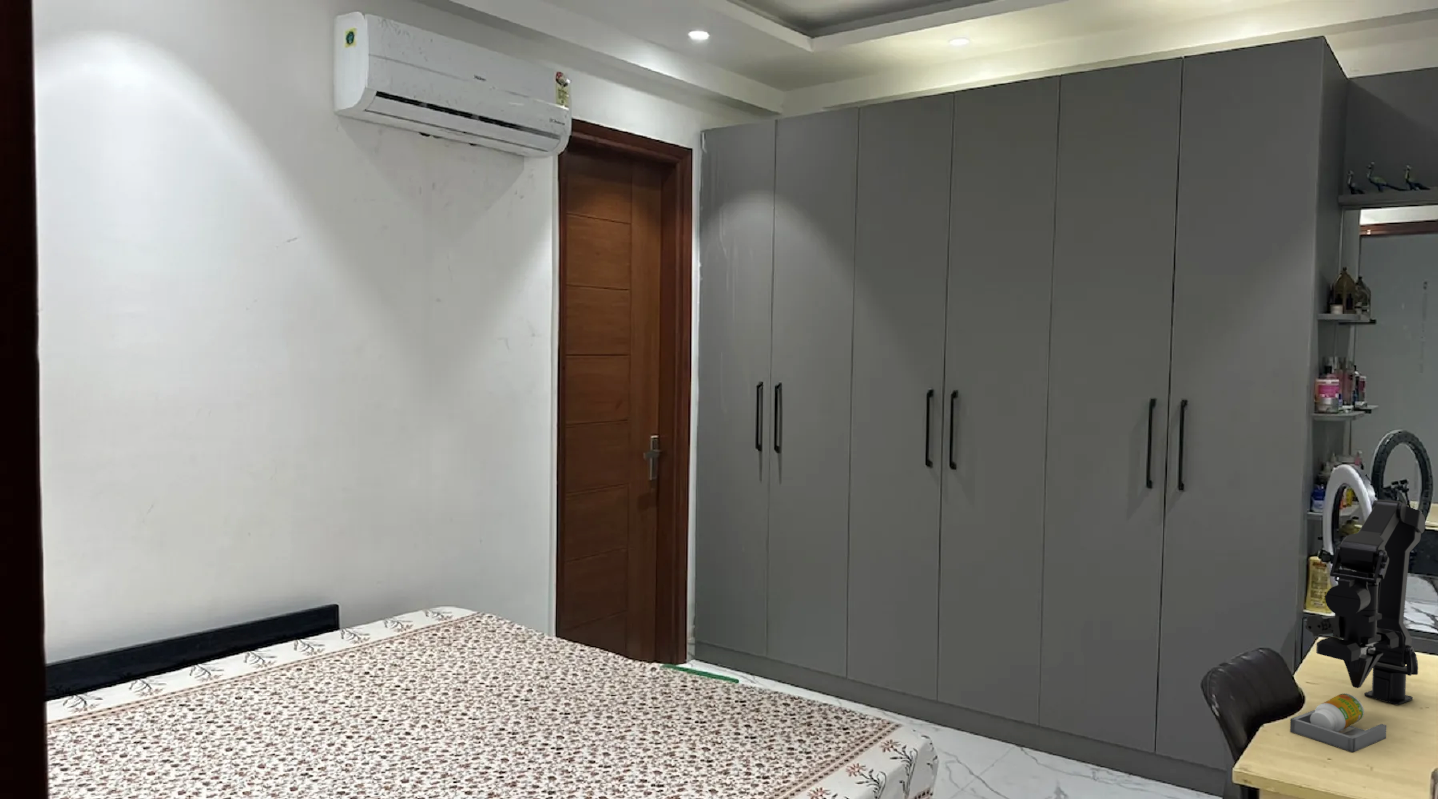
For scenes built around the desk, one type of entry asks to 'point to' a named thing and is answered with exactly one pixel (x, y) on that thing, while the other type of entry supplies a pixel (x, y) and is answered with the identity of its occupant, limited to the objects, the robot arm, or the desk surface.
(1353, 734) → the tray
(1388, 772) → the desk surface
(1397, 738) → the desk surface
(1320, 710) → the supplement bottle
